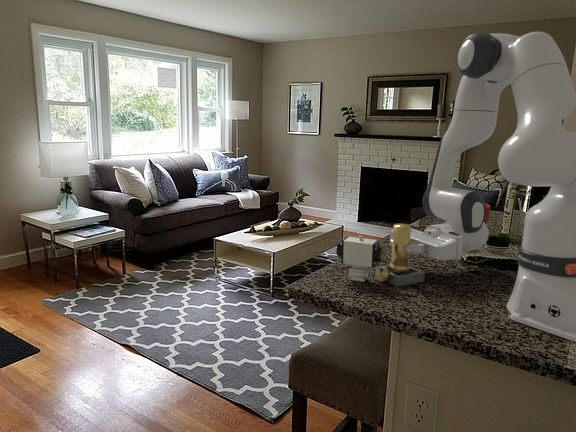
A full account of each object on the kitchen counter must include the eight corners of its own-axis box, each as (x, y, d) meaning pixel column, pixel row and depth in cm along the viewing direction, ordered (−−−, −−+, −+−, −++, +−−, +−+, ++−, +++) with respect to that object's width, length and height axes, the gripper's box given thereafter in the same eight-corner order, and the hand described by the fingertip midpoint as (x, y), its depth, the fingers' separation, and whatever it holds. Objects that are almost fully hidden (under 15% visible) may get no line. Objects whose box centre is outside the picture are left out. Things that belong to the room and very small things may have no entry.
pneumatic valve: (378, 286, 113) (380, 240, 111) (335, 279, 118) (336, 235, 116) (384, 279, 118) (386, 236, 115) (342, 273, 123) (343, 231, 121)
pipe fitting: (413, 270, 117) (416, 226, 115) (398, 273, 115) (400, 228, 113) (400, 265, 122) (403, 222, 119) (385, 267, 120) (387, 224, 117)
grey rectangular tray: (424, 281, 117) (425, 267, 116) (390, 287, 112) (391, 273, 111) (401, 271, 125) (402, 258, 124) (369, 277, 120) (369, 263, 119)
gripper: (413, 221, 131) (374, 226, 125) (467, 237, 113) (426, 244, 107) (411, 242, 132) (373, 247, 127) (465, 261, 114) (424, 269, 109)
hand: (398, 246), depth 117 cm, fingers closed on pipe fitting, 4 cm apart
